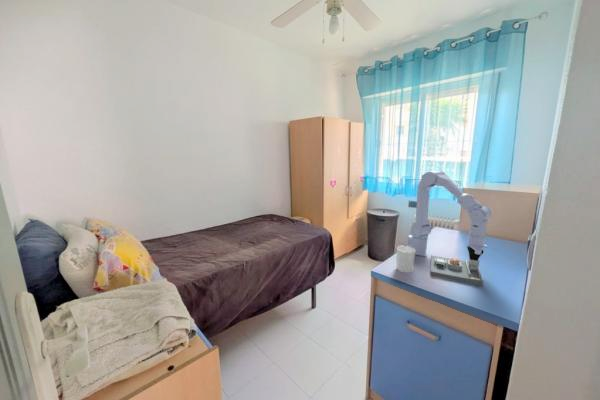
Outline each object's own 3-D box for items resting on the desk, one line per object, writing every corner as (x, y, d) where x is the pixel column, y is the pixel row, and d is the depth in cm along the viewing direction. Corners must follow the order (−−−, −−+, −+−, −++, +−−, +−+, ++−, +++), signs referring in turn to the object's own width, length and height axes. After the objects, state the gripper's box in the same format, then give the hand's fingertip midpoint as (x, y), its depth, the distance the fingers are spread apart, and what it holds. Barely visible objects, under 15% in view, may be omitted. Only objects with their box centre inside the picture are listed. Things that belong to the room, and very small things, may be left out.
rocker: (436, 263, 110) (437, 261, 110) (436, 260, 116) (436, 258, 115) (444, 264, 109) (444, 262, 109) (443, 261, 114) (443, 259, 114)
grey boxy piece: (468, 269, 107) (469, 260, 106) (467, 267, 109) (468, 258, 108) (478, 271, 105) (479, 261, 104) (477, 269, 107) (478, 259, 106)
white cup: (405, 275, 107) (407, 254, 105) (391, 267, 114) (392, 247, 112) (417, 270, 111) (419, 250, 109) (403, 263, 118) (404, 244, 116)
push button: (450, 266, 109) (451, 260, 109) (450, 263, 112) (450, 257, 111) (458, 268, 108) (459, 261, 107) (457, 265, 110) (458, 259, 110)
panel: (430, 275, 107) (431, 267, 106) (430, 259, 122) (431, 251, 122) (482, 286, 98) (483, 277, 97) (475, 267, 114) (476, 259, 113)
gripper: (492, 241, 97) (487, 272, 100) (485, 230, 110) (481, 258, 112) (471, 238, 100) (466, 269, 103) (466, 228, 113) (462, 255, 116)
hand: (472, 263), depth 108 cm, fingers closed
